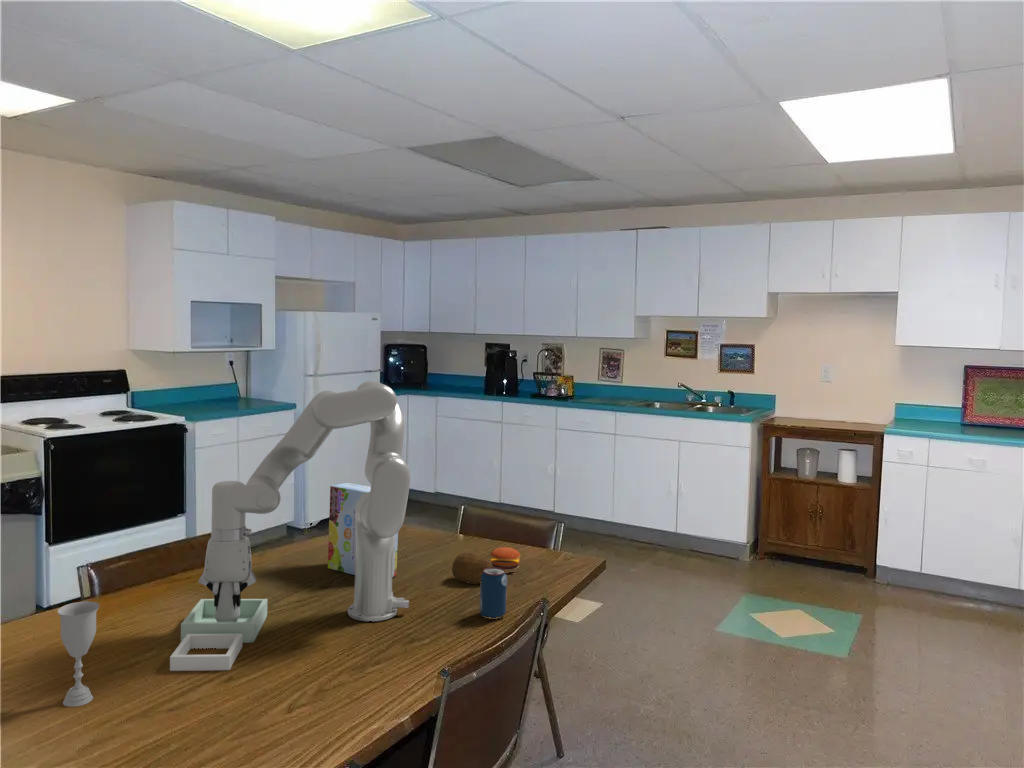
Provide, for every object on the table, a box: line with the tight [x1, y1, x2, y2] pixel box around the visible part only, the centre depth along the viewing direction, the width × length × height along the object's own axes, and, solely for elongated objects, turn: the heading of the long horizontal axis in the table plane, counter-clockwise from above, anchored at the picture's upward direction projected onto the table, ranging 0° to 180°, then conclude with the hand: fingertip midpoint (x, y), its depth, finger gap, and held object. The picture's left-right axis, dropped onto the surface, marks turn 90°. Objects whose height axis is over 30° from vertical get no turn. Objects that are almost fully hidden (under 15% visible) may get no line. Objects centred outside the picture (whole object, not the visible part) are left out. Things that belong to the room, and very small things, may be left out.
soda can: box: [478, 567, 508, 618], centre depth 195 cm, size 7×7×12 cm
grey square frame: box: [169, 634, 244, 672], centre depth 163 cm, size 12×12×3 cm
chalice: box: [57, 600, 100, 708], centre depth 143 cm, size 7×7×18 cm
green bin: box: [180, 598, 268, 644], centre depth 179 cm, size 16×16×4 cm
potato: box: [451, 552, 492, 584], centre depth 220 cm, size 8×12×9 cm
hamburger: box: [489, 546, 522, 570], centre depth 235 cm, size 9×10×7 cm
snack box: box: [327, 482, 399, 578], centre depth 225 cm, size 22×9×26 cm, turn 58°
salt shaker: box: [214, 578, 240, 622], centre depth 179 cm, size 6×6×13 cm
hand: (227, 608), depth 179 cm, fingers closed on salt shaker, 3 cm apart
